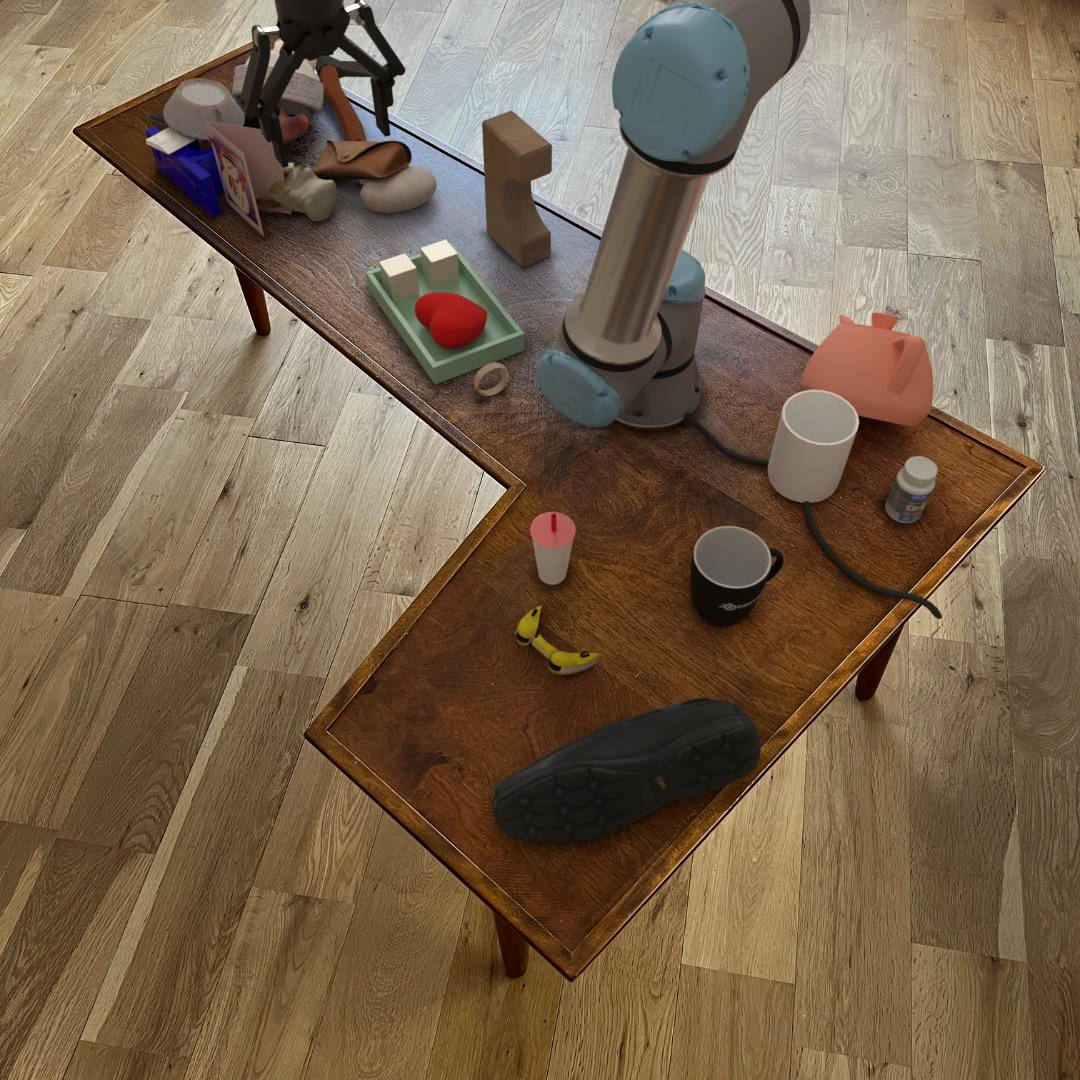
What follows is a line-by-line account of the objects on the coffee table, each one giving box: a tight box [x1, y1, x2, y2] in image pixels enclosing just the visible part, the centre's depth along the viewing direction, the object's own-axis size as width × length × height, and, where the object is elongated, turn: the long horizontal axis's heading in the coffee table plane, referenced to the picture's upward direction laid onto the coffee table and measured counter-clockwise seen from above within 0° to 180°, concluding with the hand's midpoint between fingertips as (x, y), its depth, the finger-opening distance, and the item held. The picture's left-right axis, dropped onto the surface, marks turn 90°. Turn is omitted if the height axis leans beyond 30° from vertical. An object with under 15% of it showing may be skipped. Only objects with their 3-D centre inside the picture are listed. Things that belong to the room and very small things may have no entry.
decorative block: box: [481, 110, 553, 269], centre depth 166 cm, size 11×6×20 cm, turn 32°
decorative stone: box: [359, 165, 438, 214], centre depth 178 cm, size 13×9×5 cm
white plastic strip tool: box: [145, 126, 194, 154], centre depth 180 cm, size 5×15×1 cm, turn 146°
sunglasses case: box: [311, 139, 413, 180], centre depth 181 cm, size 18×7×7 cm
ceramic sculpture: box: [253, 160, 337, 222], centre depth 177 cm, size 11×9×15 cm
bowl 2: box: [243, 106, 310, 145], centre depth 186 cm, size 16×13×8 cm
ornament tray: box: [365, 242, 526, 385], centre depth 162 cm, size 24×15×3 cm, turn 29°
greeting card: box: [206, 121, 293, 237], centre depth 173 cm, size 11×7×15 cm, turn 40°
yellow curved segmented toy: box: [514, 605, 601, 676], centre depth 127 cm, size 10×6×4 cm, turn 45°
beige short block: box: [378, 252, 419, 303], centre depth 164 cm, size 4×4×5 cm
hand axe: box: [315, 55, 375, 141], centre depth 197 cm, size 12×3×30 cm
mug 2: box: [767, 390, 860, 504], centre depth 141 cm, size 10×12×12 cm
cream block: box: [419, 239, 460, 289], centre depth 166 cm, size 4×4×5 cm
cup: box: [529, 511, 577, 586], centre depth 131 cm, size 5×5×12 cm
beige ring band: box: [473, 361, 511, 397], centre depth 152 cm, size 3×5×5 cm, turn 118°
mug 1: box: [689, 525, 785, 628], centre depth 129 cm, size 12×9×10 cm
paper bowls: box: [231, 51, 324, 117], centre depth 189 cm, size 15×15×8 cm
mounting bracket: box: [145, 125, 225, 218], centre depth 181 cm, size 18×7×6 cm
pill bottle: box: [884, 455, 939, 524], centre depth 138 cm, size 5×5×8 cm
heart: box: [415, 292, 487, 349], centre depth 159 cm, size 12×5×10 cm
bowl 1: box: [162, 77, 245, 141], centre depth 179 cm, size 13×13×5 cm
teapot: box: [799, 311, 934, 427], centre depth 145 cm, size 25×17×13 cm
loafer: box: [491, 697, 762, 844], centre depth 116 cm, size 10×29×10 cm
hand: (333, 146), depth 136 cm, fingers open, 13 cm apart
